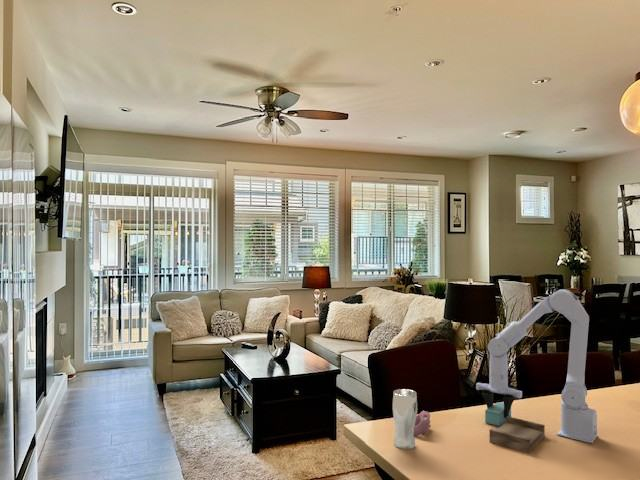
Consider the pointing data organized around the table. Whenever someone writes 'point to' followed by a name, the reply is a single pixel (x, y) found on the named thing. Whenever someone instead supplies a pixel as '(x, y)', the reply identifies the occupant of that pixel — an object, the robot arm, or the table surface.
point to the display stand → (518, 434)
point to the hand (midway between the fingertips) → (498, 415)
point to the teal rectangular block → (496, 414)
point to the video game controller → (422, 423)
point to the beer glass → (404, 417)
